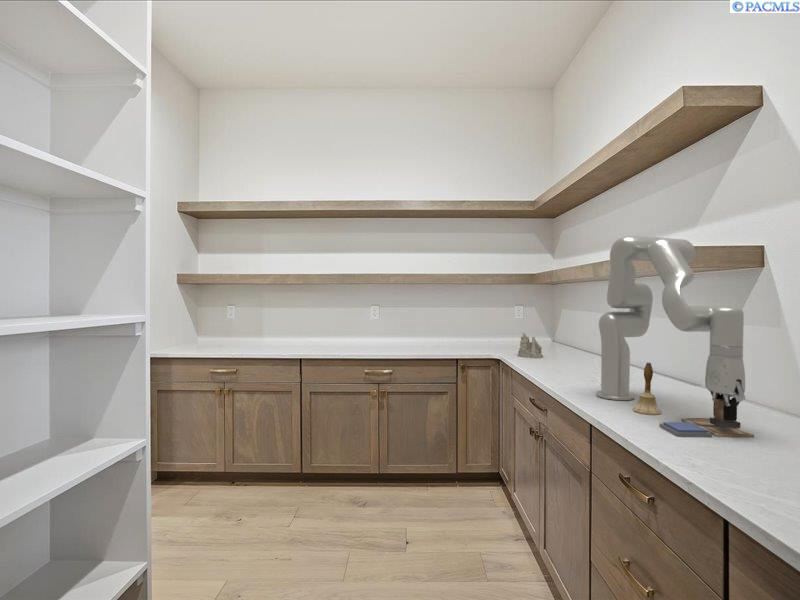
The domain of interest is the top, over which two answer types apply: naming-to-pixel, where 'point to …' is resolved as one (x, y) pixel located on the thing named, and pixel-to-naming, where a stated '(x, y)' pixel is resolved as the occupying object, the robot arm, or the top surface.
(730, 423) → the stamp
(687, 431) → the ink pad
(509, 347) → the top surface
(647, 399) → the hand bell
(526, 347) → the castle ruin model
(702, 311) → the robot arm
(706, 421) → the board
